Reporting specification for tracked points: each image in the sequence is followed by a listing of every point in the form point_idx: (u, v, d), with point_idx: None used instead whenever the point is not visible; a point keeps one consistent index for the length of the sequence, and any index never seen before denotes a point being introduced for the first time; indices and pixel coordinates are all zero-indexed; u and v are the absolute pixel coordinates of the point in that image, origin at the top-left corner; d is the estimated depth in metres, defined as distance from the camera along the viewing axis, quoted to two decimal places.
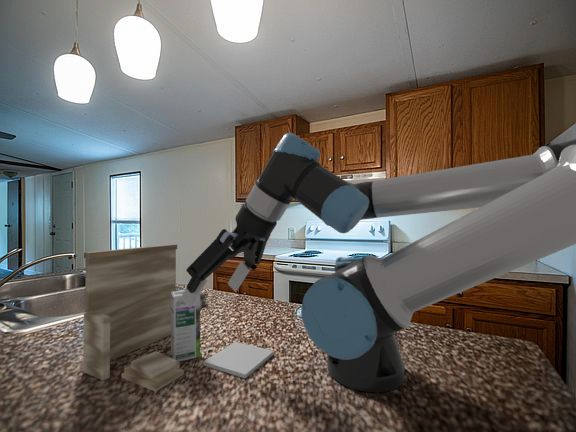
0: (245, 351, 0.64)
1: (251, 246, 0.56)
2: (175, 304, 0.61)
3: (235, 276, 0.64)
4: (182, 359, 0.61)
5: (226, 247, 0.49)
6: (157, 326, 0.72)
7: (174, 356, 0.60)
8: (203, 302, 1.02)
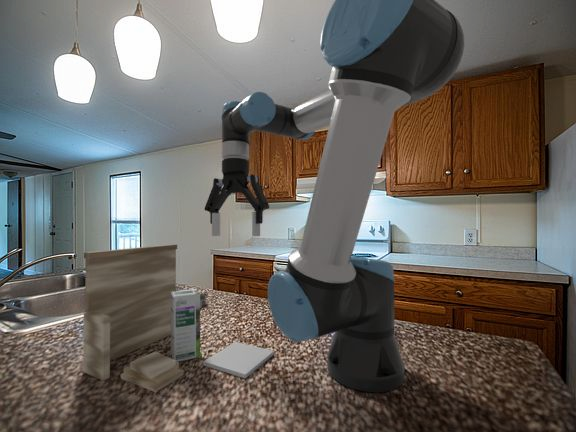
0: (245, 351, 0.64)
1: None
2: (175, 304, 0.61)
3: None
4: (182, 359, 0.61)
5: (215, 186, 0.79)
6: (157, 326, 0.72)
7: (174, 356, 0.60)
8: (203, 302, 1.02)
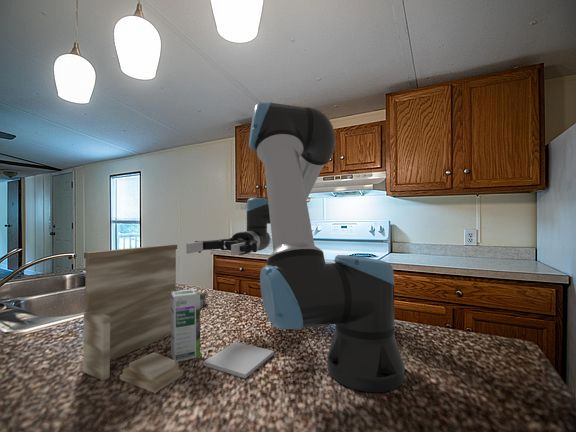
0: (245, 351, 0.64)
1: (238, 240, 0.86)
2: (175, 304, 0.61)
3: None
4: (182, 359, 0.61)
5: (217, 240, 0.89)
6: (157, 326, 0.72)
7: (174, 356, 0.60)
8: (203, 302, 1.02)
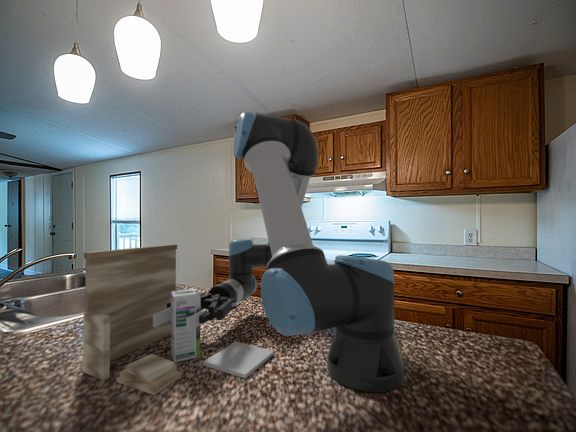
0: (245, 351, 0.64)
1: None
2: (175, 304, 0.61)
3: None
4: (182, 359, 0.61)
5: None
6: (157, 326, 0.72)
7: (174, 356, 0.60)
8: None
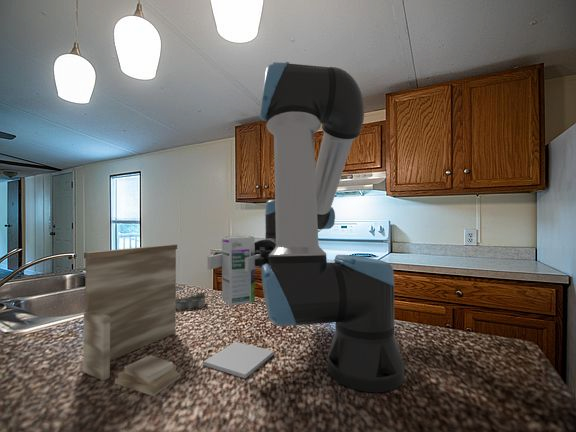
0: (245, 351, 0.64)
1: (260, 250, 0.72)
2: (231, 245, 0.59)
3: None
4: (238, 303, 0.59)
5: None
6: (157, 326, 0.72)
7: (230, 299, 0.58)
8: None
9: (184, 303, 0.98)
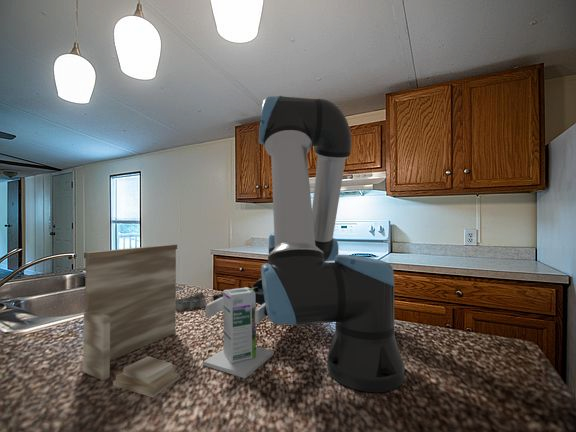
0: None
1: (263, 291, 0.71)
2: (232, 303, 0.59)
3: None
4: (239, 360, 0.59)
5: None
6: (157, 326, 0.72)
7: (231, 357, 0.58)
8: None
9: (185, 303, 0.98)
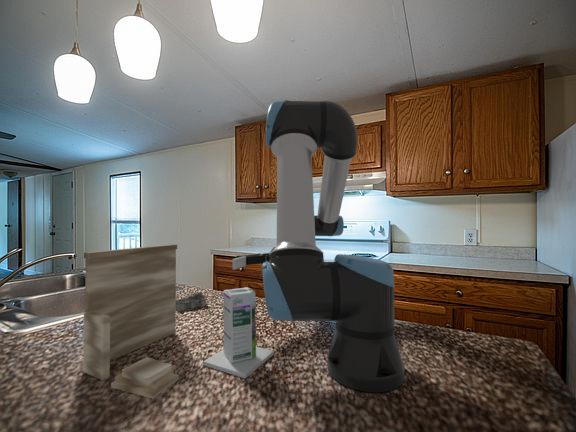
0: None
1: None
2: (232, 303, 0.59)
3: None
4: (239, 360, 0.59)
5: (257, 254, 0.87)
6: (157, 326, 0.72)
7: (231, 357, 0.58)
8: None
9: (186, 304, 0.98)
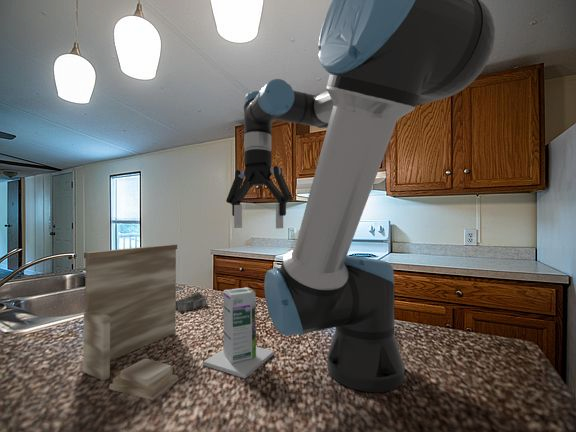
0: None
1: None
2: (232, 303, 0.59)
3: None
4: (239, 360, 0.59)
5: (237, 178, 0.79)
6: (157, 326, 0.72)
7: (231, 357, 0.58)
8: None
9: (188, 304, 0.98)
